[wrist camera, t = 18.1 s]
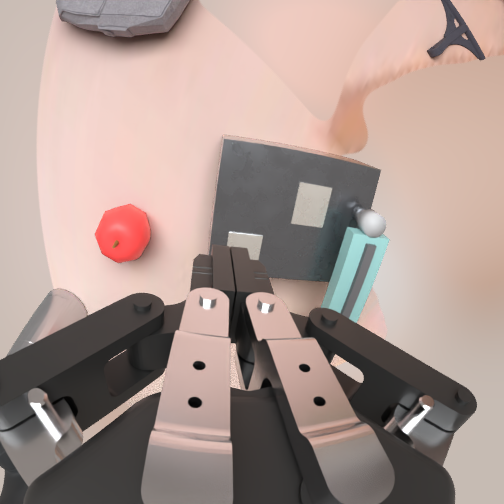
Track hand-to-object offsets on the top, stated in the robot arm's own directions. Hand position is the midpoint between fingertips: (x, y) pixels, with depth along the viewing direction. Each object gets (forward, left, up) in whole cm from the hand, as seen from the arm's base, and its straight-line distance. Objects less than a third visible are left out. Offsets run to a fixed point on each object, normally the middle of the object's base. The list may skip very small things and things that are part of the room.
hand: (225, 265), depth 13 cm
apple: (-10, +12, -29) cm, 33 cm away
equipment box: (-4, -9, -28) cm, 30 cm away
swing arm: (-10, -17, -18) cm, 26 cm away
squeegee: (+32, -34, -29) cm, 55 cm away
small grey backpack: (+25, +18, -29) cm, 42 cm away
